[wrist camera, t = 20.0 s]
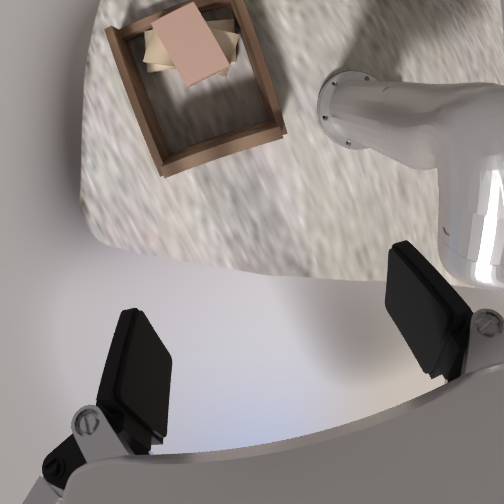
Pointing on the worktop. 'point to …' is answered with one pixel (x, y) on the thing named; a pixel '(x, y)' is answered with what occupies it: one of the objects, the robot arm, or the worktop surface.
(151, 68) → the plate
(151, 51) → the offcut middle
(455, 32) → the worktop surface
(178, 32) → the offcut top
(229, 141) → the wooden tray
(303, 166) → the worktop surface
